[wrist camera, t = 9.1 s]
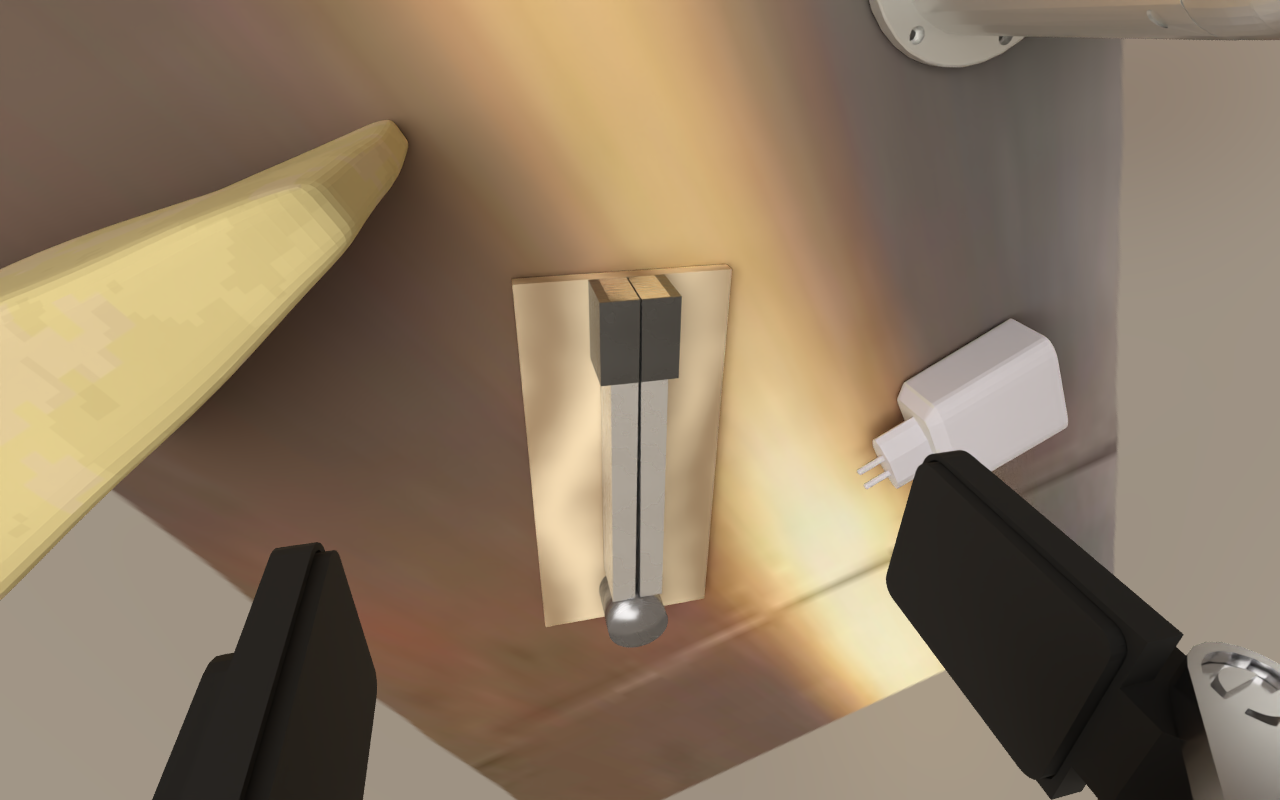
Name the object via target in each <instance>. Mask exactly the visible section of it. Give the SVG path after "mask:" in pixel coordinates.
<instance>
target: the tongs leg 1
mask: <svg viewBox="0 0 1280 800" xmlns="http://www.w3.org/2000/svg"><path fill="white" fill-rule="evenodd" d="M588 291H589V328H590V359H591V361H592V364H593V367H594V369H595V372H596V375H597V377H598V380H599V383H600V385H601V438H602V492H603V546H604V569H605V573H606V577H607V581H608V585H609V589H610V592H611V596H612V600H613V602H616V601H622V600H628V599H634V598H635V573H636V509H637V446H638V383H639V347H640V299H639V297H638V296H637V294H636V292H635V291H634V289H633V288H632V286H631V285H630V283H629V281H628V280H627V278H626V277H623V278H608V279H593V280H588Z"/></svg>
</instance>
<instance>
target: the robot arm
mask: <svg viewBox="0 0 1280 800" xmlns="http://www.w3.org/2000/svg"><path fill="white" fill-rule="evenodd" d="M869 2H870V6H871V10H872V12H873V14H874V16H875V18H876V20H877V22H878V24H879V26H880V28H881V30H882V32H883V33H884V34H885V35H886V36H887V38H888V39H889V40H890V41H891V43H892V44H893V45H894V46H895V47H896V48H897V49H899V50H900V51H901V52H903V53H904V54H905V55H906V56H908V57H909V58H911V59H914V60H916V61H919V62H921V63H923V64H926V65H933V66H940V67H966V66H970V65H974V64H979V63H983V62H985V61H987V60H989V59H991V58H994V57H996V56H998V55H1000V54H1002V53H1004V52H1005V51H1007V50H1008V49H1009V48H1011V47H1012V46H1014V45H1015V44H1017V43H1018V42H1020V41H1021V40H1022V39H1023V38H1024V37H1079V38H1135V39H1136V38H1138V39H1189V40H1190V39H1192V40H1280V0H869ZM910 33H911V36H910ZM886 584H887V588H888V591H889V593H890V595H891V597H892V598H893V600H894V601H895V602H896V604H897V605H898V606H899V608H900V609H901V610H902V612H903V613H904V614H905V616H906V617H907V618H908V620H909V621H910V622H911V624H912V625H913V626H914V628H915V629H916V630H917V632H918V633H919V634H920V636H921V637H922V639H923V640H924V641H925V643H926V644H927V645H928V647H929V648H930V649H931V651H932V652H933V653H934V655H935V656H936V657H937V659H938V660H939V661H940V663H941V664H942V665H943V667H944V668H945V669H946V671H947V672H948V673H949V675H950V676H951V677H952V679H953V680H954V681H955V683H956V684H957V685H958V686H959V688H960V689H961V691H962V692H963V693H964V695H965V696H966V697H967V699H968V700H969V701H970V703H971V704H972V705H973V707H974V708H975V710H976V711H977V712H978V713H979V715H980V716H981V717H982V719H983V720H984V722H985V723H986V724H987V726H989V728H990V730H991V731H992V732H993V734H994V735H995V736H996V738H997V739H998V740H999V742H1000V743H1001V744H1002V746H1003V747H1004V748H1005V750H1006V751H1007V752H1008V754H1009V755H1010V756H1011V758H1012V759H1013V760H1014V762H1015V763H1016V764H1017V766H1018V767H1019V768H1020V769H1021V771H1022V772H1023V773H1024V774H1025V775H1027V776H1028V777H1029V778H1032V779H1034V780H1036V781H1037V782H1038V783H1039V784H1040V786H1041V787H1042V788H1043V790H1044V791H1045V792H1046V794H1047V795H1048V796H1049V798H1050V799H1051V800H1052V799H1055V798H1059V797H1062V796H1066V795H1070V794H1073V793H1077V792H1081V791H1082V790H1083V788H1084V787H1085V785H1086V784H1087V786H1088V787H1089V788H1090V789H1091V790H1092V792H1093V793H1094V794H1095V795H1096V797H1097V798H1098V800H1280V665H1279V664H1277V663H1276V662H1274V661H1272V660H1270V659H1268V658H1266V657H1265V656H1263V655H1261V654H1258V653H1256V652H1253V651H1250V650H1248V649H1245V648H1243V647H1240V646H1235V645H1230V644H1226V643H1222V642H1204V643H1201V644H1199V645H1196V646H1194V647H1192V649H1191V650H1190V651H1189V653H1188V654H1187V656H1186V655H1184V654H1183V653H1182V652H1181V651H1180V650H1179V649H1178V648H1177V647H1176V645H1177V644H1178V642H1179V641H1180V639H1181V638H1182V636H1183V634H1182V633H1181V632H1180V631H1179V630H1178V629H1176V628H1175V627H1174V626H1173V625H1172V624H1171V623H1169V622H1168V621H1167V620H1166V619H1164V618H1163V617H1162V616H1161V615H1160V614H1159V613H1158V612H1156V611H1155V610H1154V609H1153V608H1152V607H1150V606H1149V605H1148V604H1147V603H1146V602H1144V601H1143V600H1142V599H1141V598H1140V597H1139V596H1137V595H1136V594H1135V593H1134V592H1133V591H1132V590H1130V589H1129V588H1128V587H1127V586H1126V585H1124V584H1123V583H1122V582H1121V581H1120V580H1119V579H1117V578H1116V577H1115V576H1114V575H1113V574H1111V573H1110V572H1109V571H1108V570H1107V569H1106V568H1104V567H1103V566H1102V565H1101V564H1100V563H1099V562H1097V561H1096V560H1095V559H1094V558H1093V557H1091V556H1090V555H1089V554H1088V553H1087V552H1086V551H1084V550H1083V549H1082V548H1081V547H1080V546H1078V545H1077V544H1076V543H1075V542H1074V541H1073V540H1071V539H1070V538H1069V537H1068V536H1067V535H1065V534H1064V533H1063V532H1062V531H1061V530H1060V529H1058V528H1057V527H1056V526H1055V525H1054V524H1052V523H1051V522H1050V521H1049V520H1048V519H1047V518H1045V517H1044V516H1043V515H1042V514H1041V513H1039V512H1038V511H1037V510H1036V509H1035V508H1034V507H1032V506H1031V505H1030V504H1029V503H1028V502H1027V501H1025V500H1024V499H1023V498H1022V497H1021V496H1019V495H1018V494H1017V493H1016V492H1015V491H1014V490H1012V489H1011V488H1010V487H1009V486H1008V485H1006V484H1005V483H1004V482H1003V481H1002V480H1001V479H999V478H998V477H997V476H996V475H995V474H993V473H992V472H991V471H990V470H989V469H988V468H986V467H985V466H984V465H983V464H982V463H980V462H979V461H978V460H977V459H976V458H975V457H973V456H972V455H971V454H970V453H968V452H966V451H963V450H956V451H949V452H942V453H935V454H931V455H928V456H927V457H926V458H925V459H924V461H923V464H921V465H919V466H918V467H917V470H916V472H915V476H914V479H913V483H912V486H911V490H910V493H909V497H908V501H907V504H906V508H905V511H904V515H903V518H902V522H901V525H900V529H899V532H898V536H897V539H896V543H895V547H894V550H893V554H892V557H891V561H890V564H889V568H888V571H887V575H886ZM376 695H377V679H376V672H375V668H374V665H373V662H372V659H371V656H370V652H369V649H368V646H367V643H366V639H365V636H364V633H363V630H362V627H361V623H360V620H359V617H358V614H357V611H356V607H355V604H354V601H353V598H352V595H351V591H350V588H349V585H348V582H347V579H346V575H345V572H344V569H343V566H342V563H341V559H340V556H339V554H338V552H337V551H336V550H332V551H326V552H325V550H324V547H323V546H322V544H321V543H318V542H316V543H309V544H302V545H295V546H288V547H281V548H276V549H275V550H273V551H272V553H271V555H270V557H269V560H268V563H267V565H266V568H265V571H264V574H263V576H262V579H261V582H260V584H259V587H258V590H257V593H256V595H255V598H254V601H253V603H252V606H251V609H250V612H249V614H248V617H247V620H246V623H245V625H244V628H243V630H242V633H241V636H240V639H239V641H238V644H237V647H236V649H235V652H234V653H230V654H224V655H220V656H216V657H215V658H214V659H213V660H212V661H211V662H210V663H209V664H208V666H207V668H206V670H205V672H204V674H203V676H202V678H201V681H200V683H199V686H198V688H197V690H196V693H195V695H194V698H193V700H192V703H191V705H190V708H189V710H188V713H187V715H186V718H185V720H184V723H183V725H182V727H181V730H180V733H179V735H178V737H177V740H176V742H175V745H174V747H173V750H172V752H171V755H170V757H169V760H168V762H167V764H166V767H165V769H164V772H163V774H162V777H161V779H160V782H159V784H158V787H157V789H156V792H155V794H154V797H153V799H152V800H363V794H364V786H365V779H366V771H367V763H368V757H369V749H370V741H371V733H372V726H373V719H374V711H375V703H376Z"/></svg>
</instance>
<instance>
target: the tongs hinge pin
mask: <svg viewBox="0 0 1280 800" xmlns="http://www.w3.org/2000/svg"><path fill="white" fill-rule="evenodd" d="M599 594H600V598H601V602H602V606H603V611H604V615H605V619H606V623H607V628H608V632H609V636H610V638H611V640H612V641H613V642H614V643H616V644H617V645H620V646H623V647H639V646H643V645H646V644H648V643H650V642H652V641H654V640H655V639H657V638H658V637H659V636H660V635H661V634H662V633H663V632H664V630H665V629H666V627H667V624H668V617H667V614H666V611H665V608H664V605H663V602H662V599H661V596H660V594H656V595H651V596H645V597H640V595H639V592H638V589H637V585H636V582H635V598H634V599H628V600H622V601H616V602H613V600H612V596H611V592H610V589H609V585H608V581H607V577H606V576H605V577H604V578H603V579H602V581H601V583H600V586H599Z"/></svg>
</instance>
